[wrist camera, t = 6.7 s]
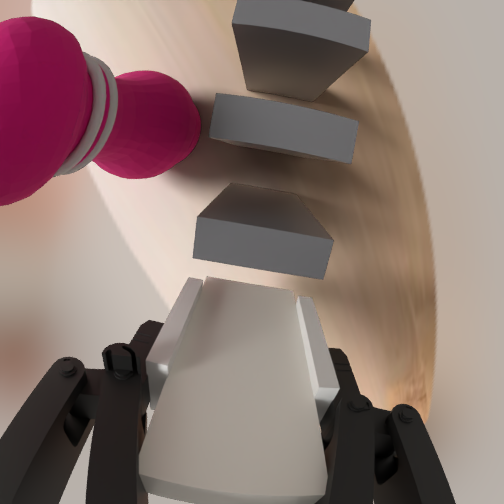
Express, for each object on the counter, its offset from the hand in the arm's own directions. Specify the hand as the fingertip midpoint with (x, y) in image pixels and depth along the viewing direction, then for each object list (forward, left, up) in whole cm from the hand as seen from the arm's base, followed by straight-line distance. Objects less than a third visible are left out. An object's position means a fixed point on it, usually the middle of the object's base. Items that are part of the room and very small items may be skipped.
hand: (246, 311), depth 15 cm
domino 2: (-9, +1, -9) cm, 13 cm away
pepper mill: (-10, -7, -9) cm, 15 cm away
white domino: (0, 0, -2) cm, 2 cm away
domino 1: (-13, +2, -9) cm, 16 cm away
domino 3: (-5, +1, -9) cm, 10 cm away
